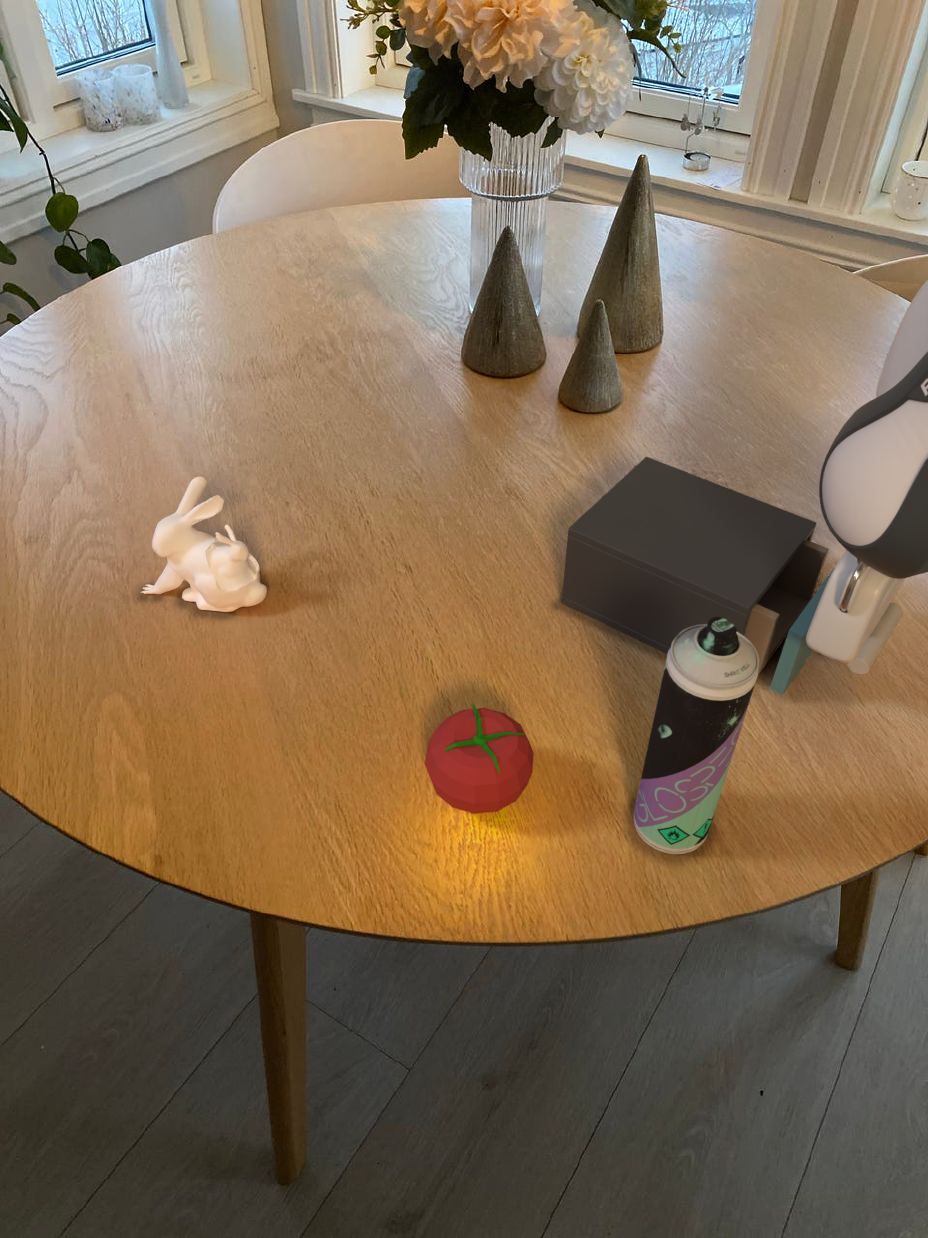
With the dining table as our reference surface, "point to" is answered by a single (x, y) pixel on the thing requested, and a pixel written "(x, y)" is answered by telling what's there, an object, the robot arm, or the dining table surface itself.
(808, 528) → the cabinet
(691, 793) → the spray can
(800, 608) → the drawer
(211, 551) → the rabbit figurine
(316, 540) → the dining table surface
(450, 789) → the tomato
